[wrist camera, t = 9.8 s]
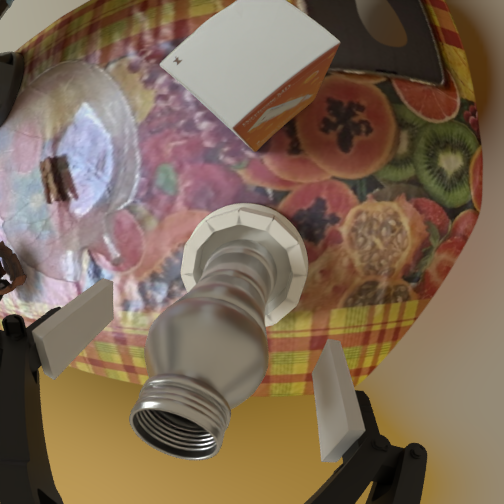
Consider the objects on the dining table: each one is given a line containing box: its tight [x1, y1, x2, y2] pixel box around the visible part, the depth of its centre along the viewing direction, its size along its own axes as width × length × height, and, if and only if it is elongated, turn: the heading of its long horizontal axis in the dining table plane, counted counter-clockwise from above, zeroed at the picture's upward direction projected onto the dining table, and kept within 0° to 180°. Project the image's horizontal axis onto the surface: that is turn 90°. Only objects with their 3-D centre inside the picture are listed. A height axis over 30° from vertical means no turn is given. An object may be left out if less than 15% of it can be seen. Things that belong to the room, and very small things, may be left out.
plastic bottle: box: [129, 239, 277, 460], centre depth 18 cm, size 6×7×20 cm
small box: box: [160, 0, 340, 152], centre depth 17 cm, size 8×6×13 cm
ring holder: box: [181, 203, 308, 327], centre depth 26 cm, size 12×12×3 cm
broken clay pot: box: [0, 241, 26, 301], centre depth 31 cm, size 12×10×8 cm
